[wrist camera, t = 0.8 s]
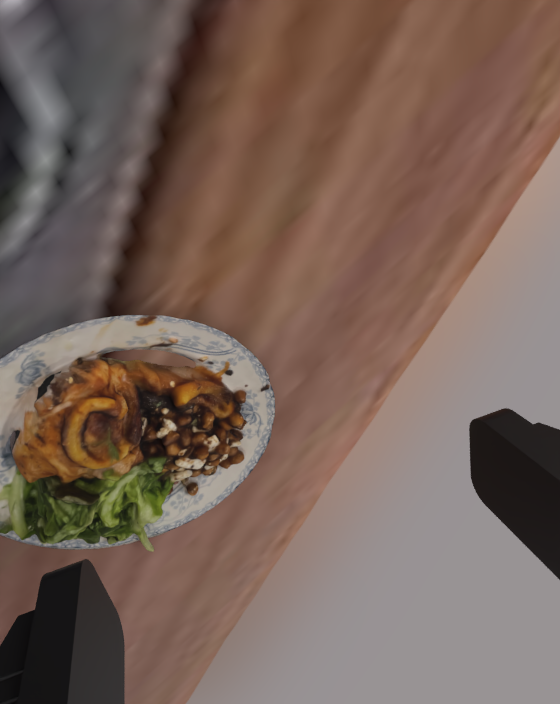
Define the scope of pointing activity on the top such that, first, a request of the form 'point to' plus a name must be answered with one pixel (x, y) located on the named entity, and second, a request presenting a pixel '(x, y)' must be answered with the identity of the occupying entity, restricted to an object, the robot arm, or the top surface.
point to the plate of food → (125, 431)
